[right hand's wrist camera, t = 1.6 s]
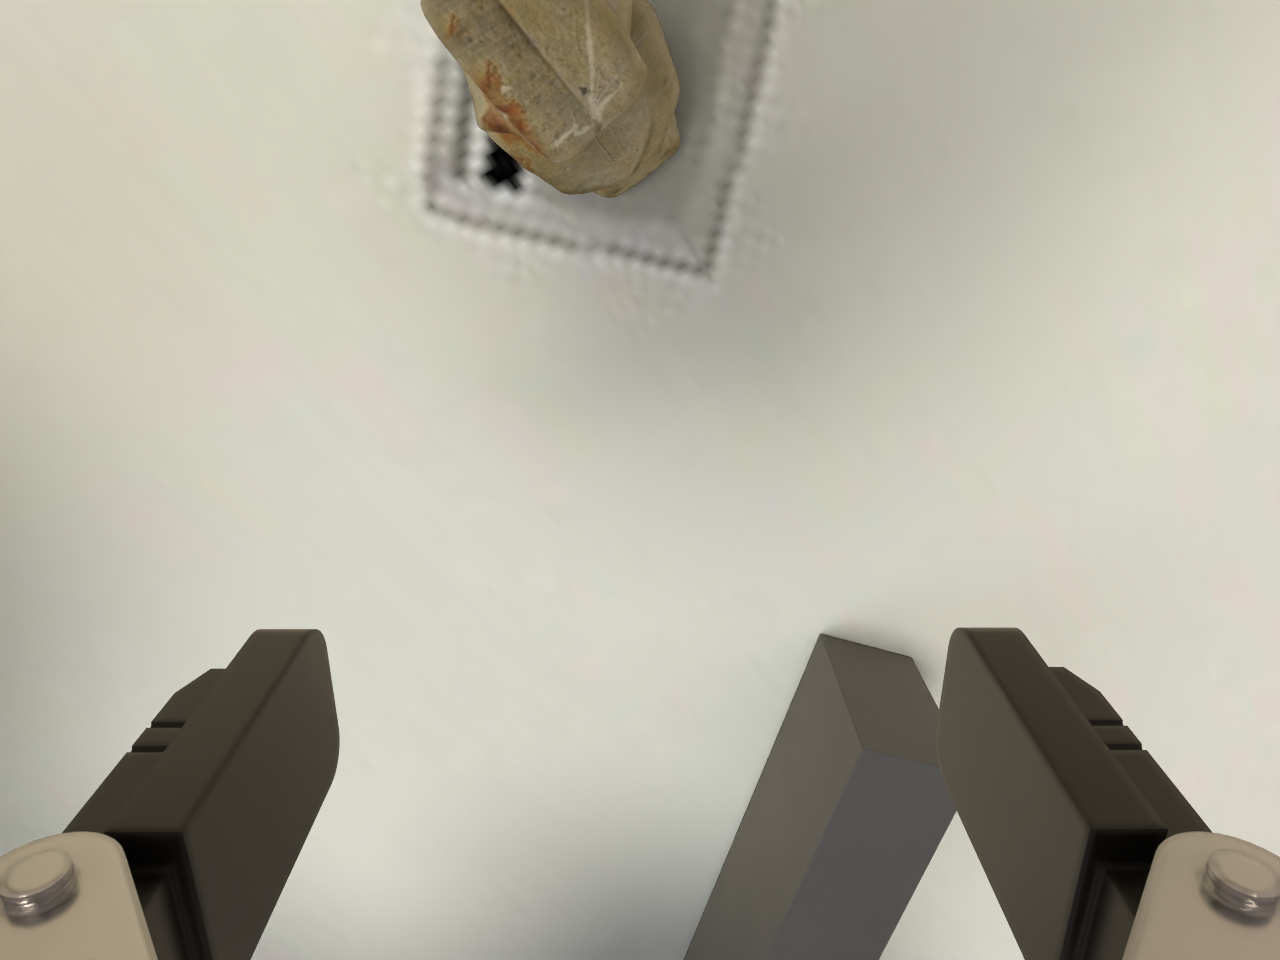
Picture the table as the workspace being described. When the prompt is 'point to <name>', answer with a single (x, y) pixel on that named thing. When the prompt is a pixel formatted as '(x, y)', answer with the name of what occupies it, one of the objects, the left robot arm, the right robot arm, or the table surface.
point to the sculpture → (568, 85)
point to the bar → (834, 817)
